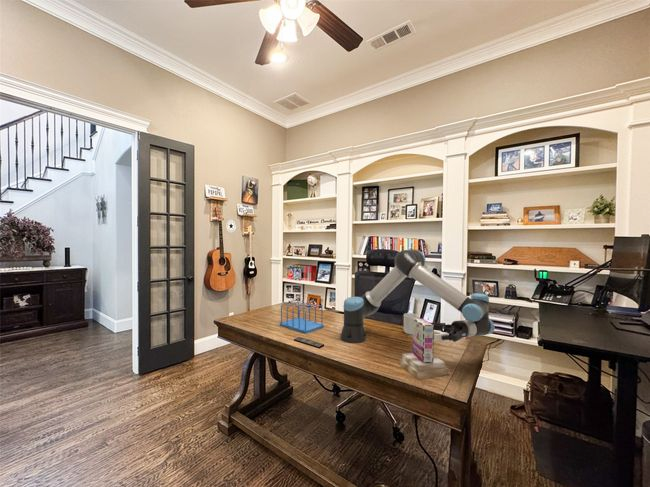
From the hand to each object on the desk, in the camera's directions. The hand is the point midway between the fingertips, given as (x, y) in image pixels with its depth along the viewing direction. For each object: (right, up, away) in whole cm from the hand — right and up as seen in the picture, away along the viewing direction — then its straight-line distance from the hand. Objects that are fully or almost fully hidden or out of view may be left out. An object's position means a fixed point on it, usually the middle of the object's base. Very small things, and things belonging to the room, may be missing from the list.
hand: (424, 332), depth 122 cm
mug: (+11, -16, +50) cm, 54 cm away
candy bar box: (0, -12, +1) cm, 12 cm away
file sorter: (-60, -16, +61) cm, 87 cm away
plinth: (0, -16, +1) cm, 16 cm away
